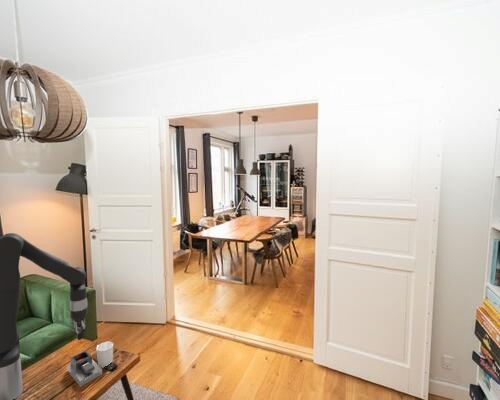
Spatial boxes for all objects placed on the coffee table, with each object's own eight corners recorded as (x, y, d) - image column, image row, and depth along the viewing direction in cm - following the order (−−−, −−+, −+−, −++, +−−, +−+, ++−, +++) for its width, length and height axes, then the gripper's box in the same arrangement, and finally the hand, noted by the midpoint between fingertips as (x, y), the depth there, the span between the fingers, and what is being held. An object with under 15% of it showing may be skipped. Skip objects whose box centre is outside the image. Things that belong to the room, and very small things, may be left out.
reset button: (78, 367, 134) (78, 365, 134) (75, 363, 137) (74, 361, 136) (87, 362, 137) (87, 360, 137) (84, 359, 140) (84, 356, 140)
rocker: (87, 373, 128) (86, 370, 128) (81, 368, 133) (81, 365, 133) (94, 369, 131) (94, 366, 131) (89, 364, 135) (88, 361, 135)
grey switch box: (80, 386, 126) (79, 373, 125) (67, 371, 136) (67, 358, 135) (102, 374, 134) (101, 361, 133) (88, 360, 144) (88, 348, 143)
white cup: (102, 370, 136) (101, 352, 135) (94, 365, 141) (93, 347, 140) (116, 361, 143) (116, 344, 142) (108, 356, 147) (107, 339, 146)
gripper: (65, 305, 135) (66, 337, 137) (75, 314, 127) (76, 348, 129) (81, 300, 141) (82, 330, 143) (92, 308, 133) (93, 340, 135)
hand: (79, 339), depth 136 cm, fingers closed
